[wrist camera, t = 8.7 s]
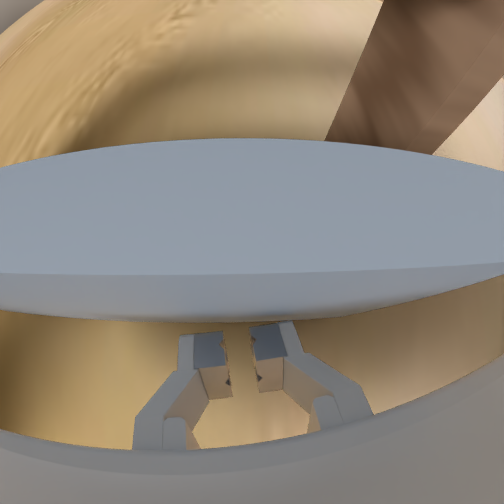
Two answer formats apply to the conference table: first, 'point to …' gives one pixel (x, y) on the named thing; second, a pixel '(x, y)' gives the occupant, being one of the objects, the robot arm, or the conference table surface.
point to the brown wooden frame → (421, 73)
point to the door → (243, 230)
